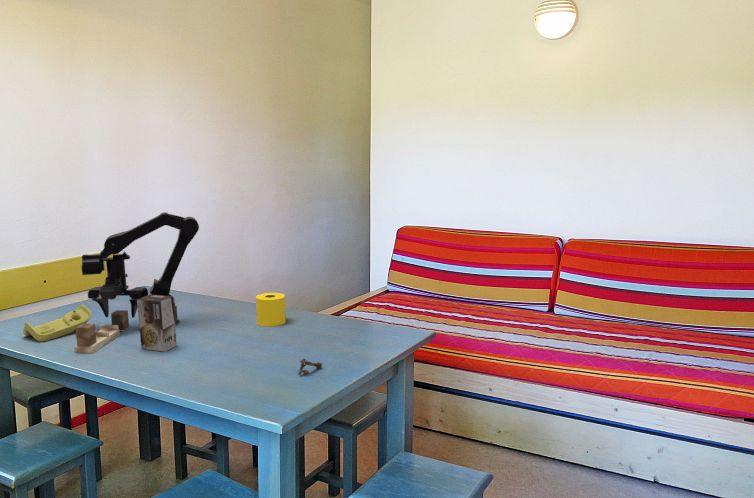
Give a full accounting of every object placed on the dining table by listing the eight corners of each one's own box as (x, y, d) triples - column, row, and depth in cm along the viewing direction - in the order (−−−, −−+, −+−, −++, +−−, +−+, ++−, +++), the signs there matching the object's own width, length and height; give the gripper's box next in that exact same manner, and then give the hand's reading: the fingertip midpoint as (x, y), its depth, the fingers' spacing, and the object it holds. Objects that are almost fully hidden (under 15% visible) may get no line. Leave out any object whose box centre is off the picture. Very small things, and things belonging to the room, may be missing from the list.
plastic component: (40, 337, 200) (23, 319, 204) (38, 354, 204) (22, 336, 208) (97, 317, 216) (80, 301, 220) (95, 333, 219) (78, 317, 223)
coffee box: (177, 345, 198) (174, 295, 195) (164, 352, 192) (160, 301, 189) (153, 342, 201) (150, 293, 198) (140, 349, 195) (136, 298, 192)
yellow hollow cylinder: (255, 319, 225) (254, 293, 223) (283, 317, 228) (282, 291, 226) (258, 327, 216) (257, 300, 214) (287, 324, 218) (286, 298, 217)
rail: (119, 335, 208) (117, 311, 207) (93, 352, 192) (91, 327, 190) (102, 334, 209) (100, 311, 207) (74, 352, 192) (72, 327, 191)
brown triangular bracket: (294, 373, 172) (298, 357, 173) (314, 376, 178) (318, 361, 179) (298, 374, 171) (303, 358, 172) (318, 378, 177) (322, 362, 178)
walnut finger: (129, 327, 217) (127, 310, 216) (122, 331, 213) (121, 314, 212) (117, 326, 217) (116, 310, 216) (111, 331, 213) (110, 314, 212)
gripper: (76, 278, 205) (81, 324, 207) (132, 278, 203) (136, 324, 206) (94, 270, 215) (98, 314, 218) (147, 270, 214) (150, 315, 217)
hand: (120, 317), depth 215 cm, fingers open, 9 cm apart
